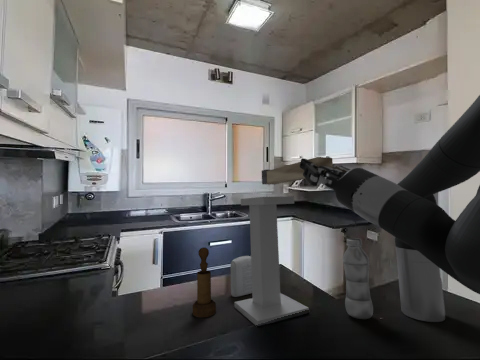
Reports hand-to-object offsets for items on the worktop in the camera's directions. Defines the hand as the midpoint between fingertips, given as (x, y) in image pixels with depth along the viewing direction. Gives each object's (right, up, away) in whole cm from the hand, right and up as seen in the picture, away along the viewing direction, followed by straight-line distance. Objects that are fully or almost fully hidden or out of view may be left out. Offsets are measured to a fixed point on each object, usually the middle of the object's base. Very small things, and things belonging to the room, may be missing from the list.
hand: (309, 163), depth 57 cm
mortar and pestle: (-26, -42, +13) cm, 51 cm away
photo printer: (-14, -43, +28) cm, 53 cm away
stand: (-7, -41, +14) cm, 44 cm away
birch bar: (-3, -4, +6) cm, 7 cm away
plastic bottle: (+15, -40, +8) cm, 43 cm away
